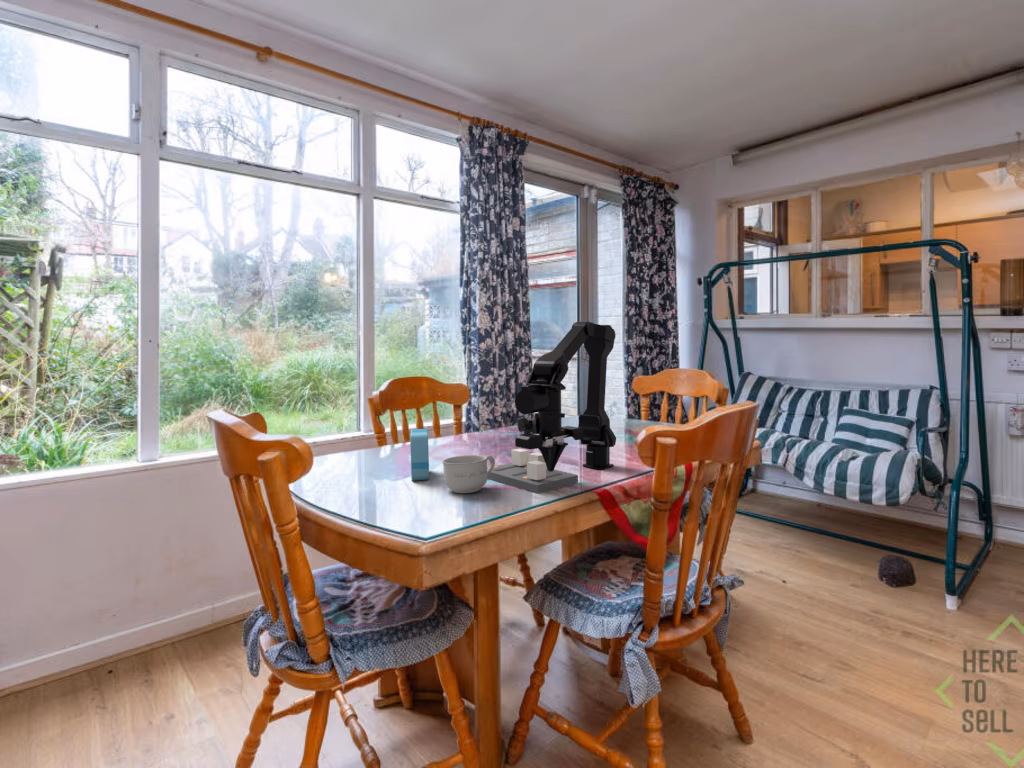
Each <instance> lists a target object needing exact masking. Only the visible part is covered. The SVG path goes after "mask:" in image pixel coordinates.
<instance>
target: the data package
mask: <svg viewBox="0 0 1024 768" xmlns="http://www.w3.org/2000/svg"><path fill="white" fill-rule="evenodd" d="M409 442H410V445H409V446H410V469H411V470H410V471H411V472H410V476H411V481H413V482H415V481H416V482H417V481H429V480H430V461H429V460H430V458H429V457H430V455H429V454H430V453H429V429H428V428H417V429H416V428H414V429H410V438H409Z"/></svg>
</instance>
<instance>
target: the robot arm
mask: <svg viewBox="0 0 1024 768" xmlns="http://www.w3.org/2000/svg"><path fill="white" fill-rule="evenodd" d="M616 335H617V334H616V330H615V329H614V328H613V327H612V326H611V324H598V323H595V322H593V321H592V322H591V321H588V320H587V321H576V322H573V323H572V325H571V329H570V330H569V331H567V333H566V335H565V336H563V338H562V339H561V340H560V341H559V343H558V344H557V345H556V346H555V348H553V350H551V351H550V352H547V353H545V354H542V355H541V356H540V357H539V358H537V359H536V360H535V361H534V363H533V366H532V368H531V371H530V374H529V375H528V378H527V380H526V383H525V384H524V385H521V387H520V388H521V390H520V391H519V392H518V393H517V394H516V396H515V399H514V405H515V409H516V410H517V411H518V412H519V413H520V414H522V415H526V416H527V415H529V414H534V415H533V419H531V420H528V418H526V417H525V418H520V419H517V429H518V432H519V433H522V434H517V436H516V437H515V438H514V441H515V442H514V443H515V444H514V445H515V447H518V448H520V449H524V450H535V449H536V450H537V449H538V450H539V451H540V452H539V453H541V454H542V456H543V458H544V461H545V463H546V466H547V469H548V471H550V472H551V471H553V470H554V469H555V468H556V467H557V464H558V461H559V460H560V457H561V456H562V453H563V452H564V450H565V448H566V447H567V446H568V445H569V443H568V442H565V439H567V438H573V439H574V441H579V440H580V444H581V445H586V451H585V463H582V467H585V468H590V469H594V470H603V469H608V468H611V467H614V466H615V464H613V463H610V461H611V460H610V457H611V456H610V455H611V453H610V450H611V449H610V448H614V447H615V446H616V442H617V437H616V435H615V433H614V432H613V430H612V428H611V420H610V418H609V416H608V413H607V412H606V408H605V404H606V389H607V387H606V386H607V385H606V384H607V383H606V382H607V364H608V361H607V360H608V357H609V355H610V354H611V352H612V351H613V349H614V344H615V339H616ZM582 346H583V348H584V350H585V351H586V354H587V355H588V370H587V371H588V372H587V373H588V374H587V389H586V390H587V392H586V395H587V396H586V408H585V409H584V411H583V413H582V414H579V416H578V426H571V425H566V426H563V425H562V419H564V418H565V417H566V413H564V412H562V391H564V390H565V391H566V389H567V387H566V386H565V385H564V384H563V383H562V382H563V380H564V379H565V377H566V375H567V373H568V371H569V363H570V361H571V360H572V358H573V357H574V356H575V355H576V354H577V352H578V351H579V350H580V348H581V347H582Z"/></svg>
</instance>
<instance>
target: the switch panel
mask: <svg viewBox="0 0 1024 768" xmlns="http://www.w3.org/2000/svg"><path fill="white" fill-rule="evenodd" d="M487 469H488V467H487ZM487 480H491V481H494V482H497V483H499V484H500V483H501V484H503V485H507V486H510V487H515V488H518V489H521V490H524V491H527V492H531V493H534V494H541V493H545V492H548V491H552V490H557V489H561V488H563V487H567V486H571V485H575V484H578V483H579V474H575V473H571V472H567V471H563V470H558V469H555V468H554V470H553V471H551V472H550V471H548V469H546V478H545V479H541V480H534V479H530V478H527V465H523V466H518V465H514V464H512V463H511V462H509V463H505V464H499V465H495V466H494V468H493V470H492V471H491V472H490V473H489V474H488V475H487Z"/></svg>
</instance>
